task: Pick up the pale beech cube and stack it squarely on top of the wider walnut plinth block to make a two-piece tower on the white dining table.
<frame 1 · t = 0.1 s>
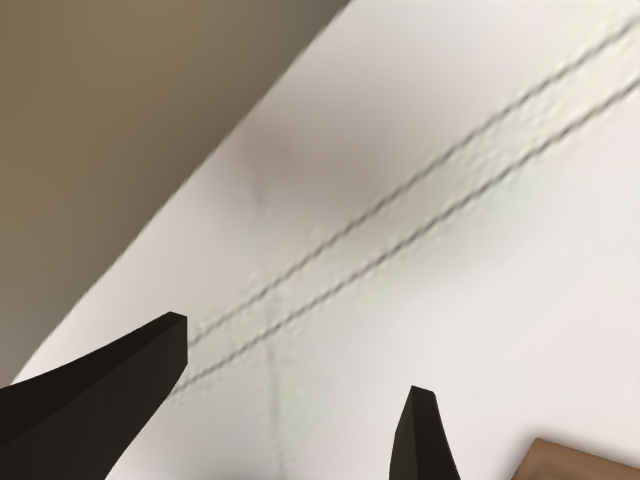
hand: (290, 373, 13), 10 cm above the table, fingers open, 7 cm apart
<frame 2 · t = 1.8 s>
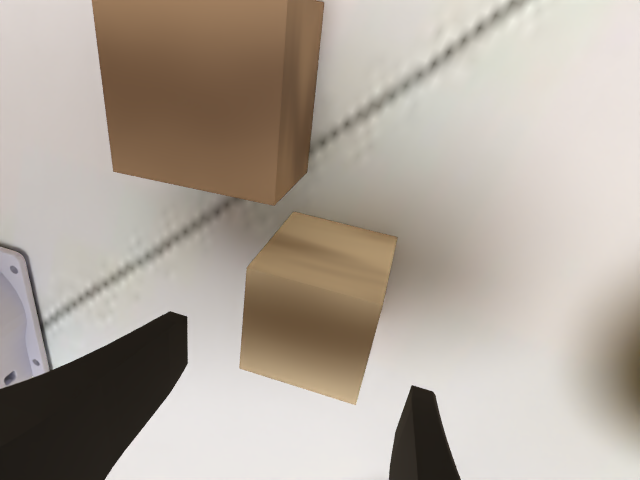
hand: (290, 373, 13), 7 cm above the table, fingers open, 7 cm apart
beech cube: (336, 268, 19), on the table
walnut plinth: (242, 82, 16), on the table
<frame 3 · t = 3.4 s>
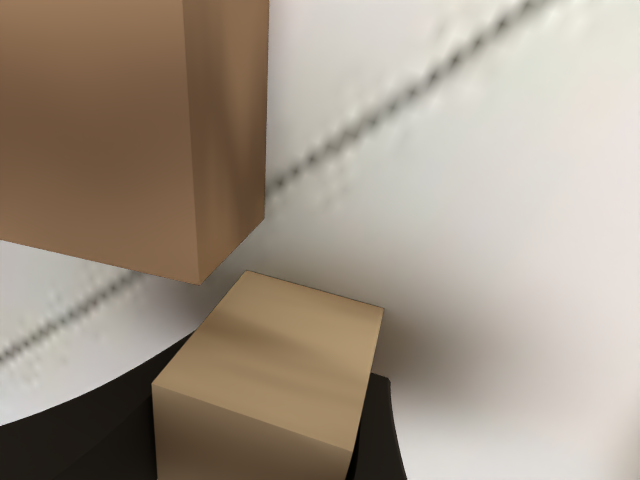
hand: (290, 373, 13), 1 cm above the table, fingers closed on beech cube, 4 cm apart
beech cube: (304, 343, 14), on the table, touching gripper
walnut plinth: (169, 100, 12), on the table
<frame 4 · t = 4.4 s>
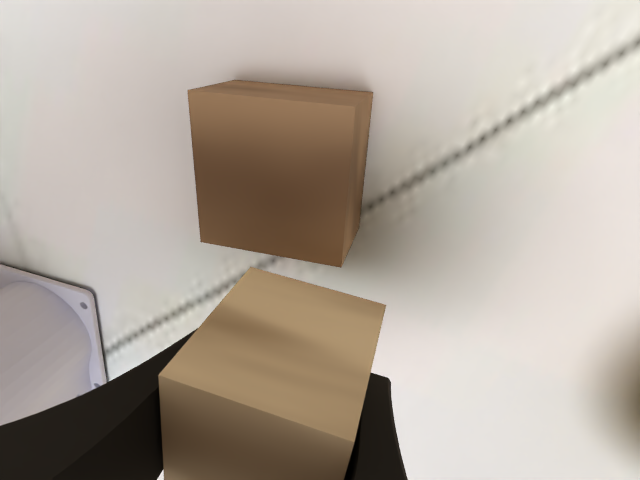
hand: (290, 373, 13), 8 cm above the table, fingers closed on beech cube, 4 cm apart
beech cube: (307, 339, 14), point 7 cm above the table, touching gripper
walnut plinth: (300, 155, 19), on the table
when the fingers open (6 cm above the table, at t = 5.9 s): beech cube stays where it is, resting on walnut plinth.
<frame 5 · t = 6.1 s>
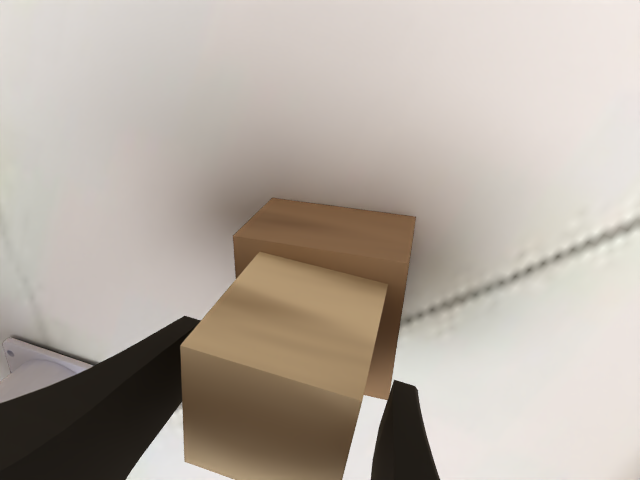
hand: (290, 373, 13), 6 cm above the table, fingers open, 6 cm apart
beech cube: (313, 319, 15), point 4 cm above the table, touching walnut plinth
walnut plinth: (338, 268, 19), on the table, touching beech cube
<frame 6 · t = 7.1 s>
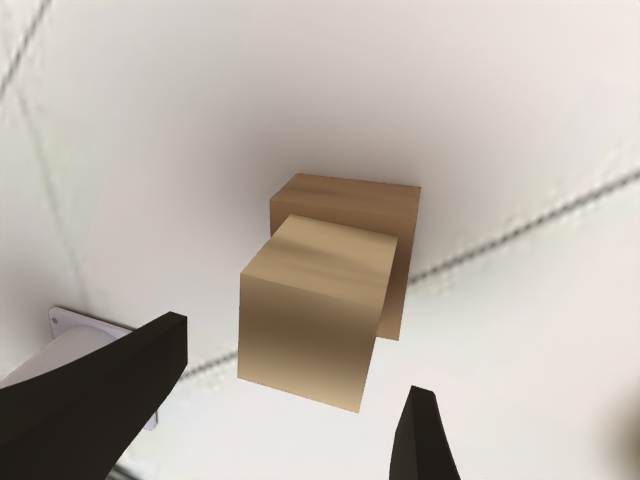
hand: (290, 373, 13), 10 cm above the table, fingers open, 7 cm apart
beech cube: (336, 271, 18), point 4 cm above the table, touching walnut plinth
walnut plinth: (353, 234, 22), on the table, touching beech cube
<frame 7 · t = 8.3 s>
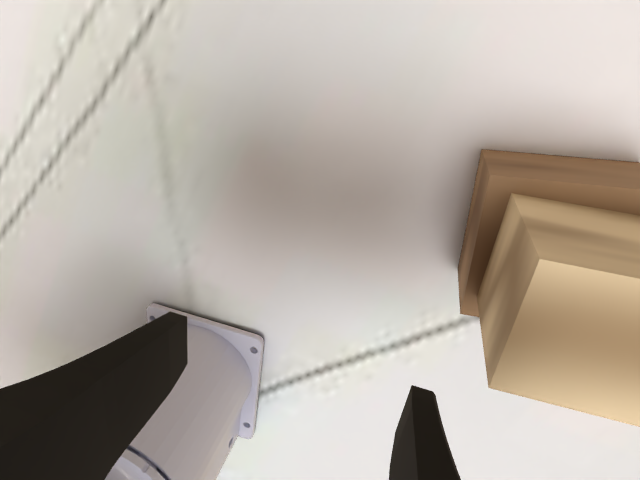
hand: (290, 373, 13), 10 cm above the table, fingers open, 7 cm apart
beech cube: (556, 261, 15), point 4 cm above the table, touching walnut plinth
walnut plinth: (537, 219, 19), on the table, touching beech cube
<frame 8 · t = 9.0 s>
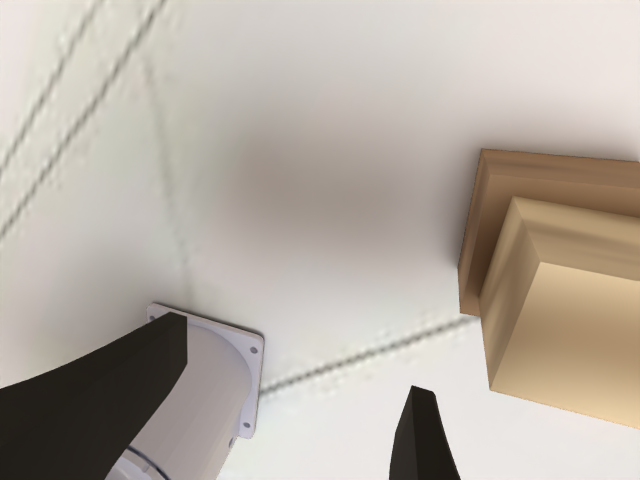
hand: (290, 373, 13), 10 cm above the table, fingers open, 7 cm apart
beech cube: (557, 263, 15), point 4 cm above the table, touching walnut plinth
walnut plinth: (537, 219, 19), on the table, touching beech cube
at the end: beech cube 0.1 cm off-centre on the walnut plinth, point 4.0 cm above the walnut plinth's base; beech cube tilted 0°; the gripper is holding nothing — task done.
